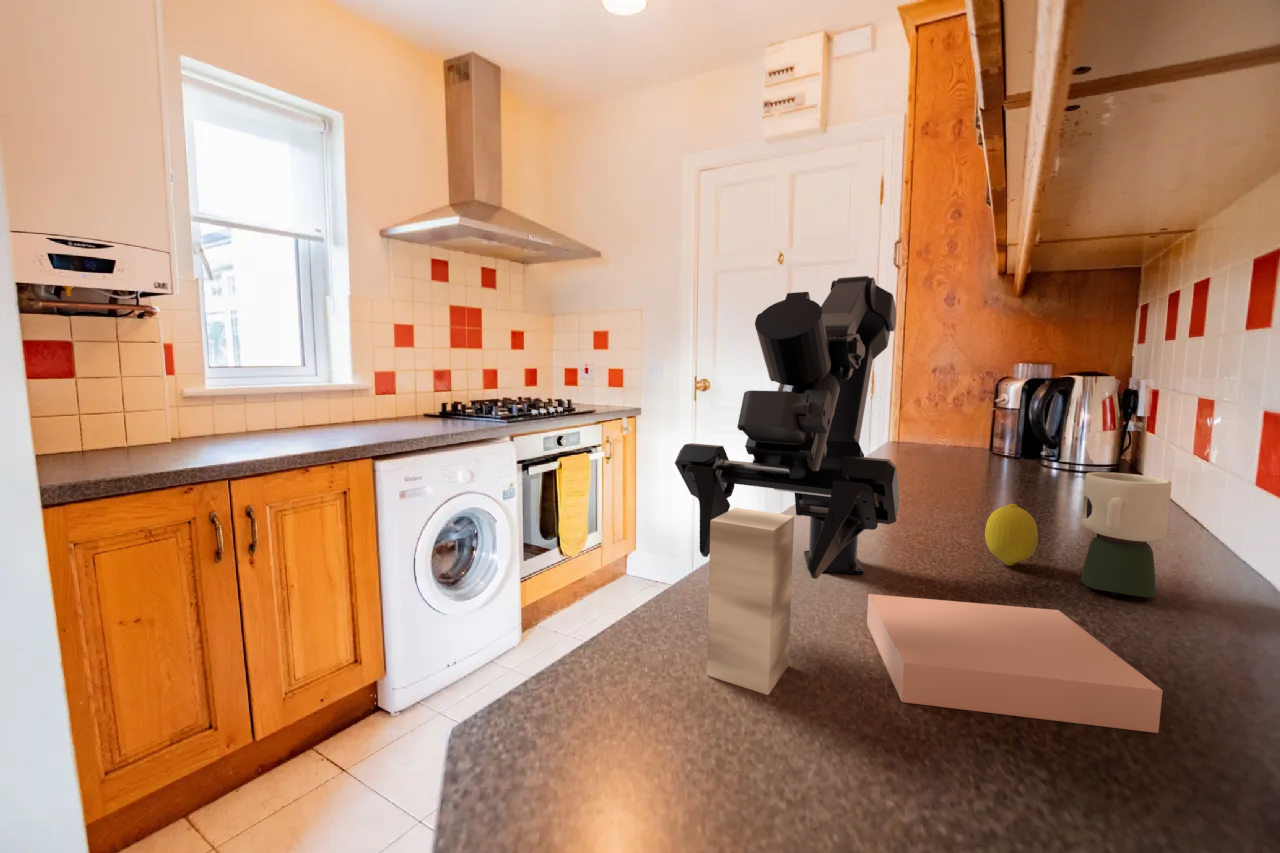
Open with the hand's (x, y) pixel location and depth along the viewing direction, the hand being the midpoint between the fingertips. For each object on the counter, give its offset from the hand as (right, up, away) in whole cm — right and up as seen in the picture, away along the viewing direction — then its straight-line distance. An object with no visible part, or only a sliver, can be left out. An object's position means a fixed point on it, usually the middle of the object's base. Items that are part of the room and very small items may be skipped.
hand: (755, 564), depth 44 cm
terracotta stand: (+19, -9, +1) cm, 21 cm away
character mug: (+44, -8, +17) cm, 48 cm away
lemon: (+38, -7, +26) cm, 46 cm away
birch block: (-1, -9, 0) cm, 9 cm away
